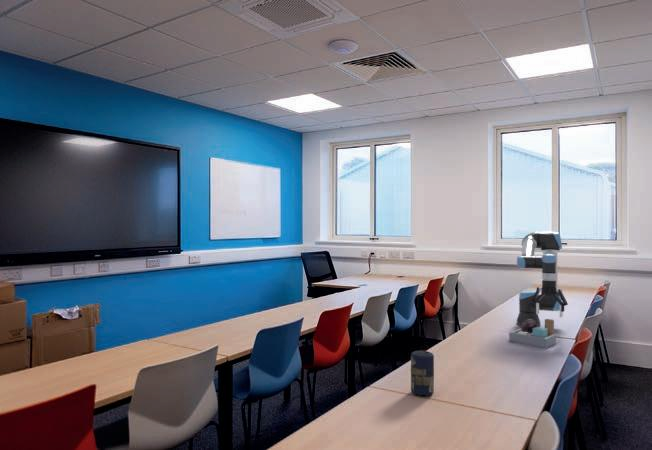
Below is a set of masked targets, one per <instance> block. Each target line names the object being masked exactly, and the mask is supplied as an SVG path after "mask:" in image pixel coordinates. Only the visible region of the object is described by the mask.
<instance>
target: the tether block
mask: <svg viewBox="0 0 652 450" xmlns="http://www.w3.org/2000/svg"><path fill="white" fill-rule="evenodd" d="M553 334H554V335H555V320H554V319H551V318H546V319H544V327H541V326H538V327H536V328H533V336H536V337H542V338H546V337H548V336H550V335H553Z"/></svg>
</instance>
